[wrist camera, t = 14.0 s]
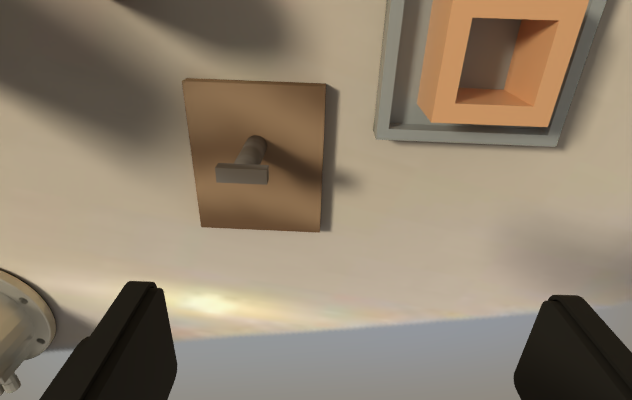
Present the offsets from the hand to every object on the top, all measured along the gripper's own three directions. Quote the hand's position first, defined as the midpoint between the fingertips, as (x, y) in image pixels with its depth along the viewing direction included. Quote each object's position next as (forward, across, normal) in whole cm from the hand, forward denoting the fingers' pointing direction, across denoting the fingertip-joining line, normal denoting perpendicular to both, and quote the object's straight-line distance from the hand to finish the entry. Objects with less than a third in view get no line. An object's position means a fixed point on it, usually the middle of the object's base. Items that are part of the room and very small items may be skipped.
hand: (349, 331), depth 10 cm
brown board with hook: (+21, +5, +4) cm, 22 cm away
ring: (+20, -10, -5) cm, 23 cm away
